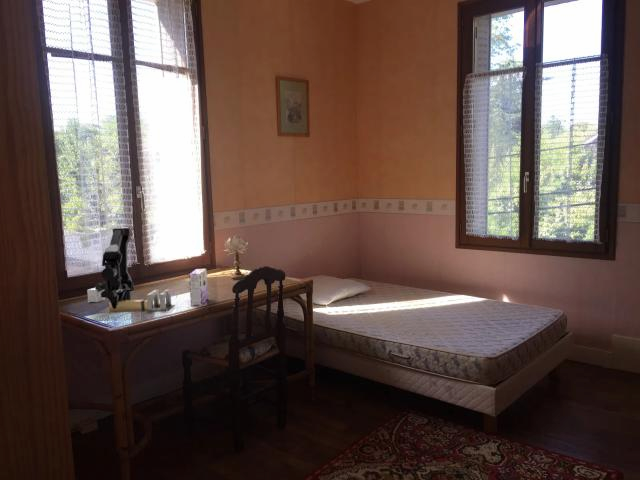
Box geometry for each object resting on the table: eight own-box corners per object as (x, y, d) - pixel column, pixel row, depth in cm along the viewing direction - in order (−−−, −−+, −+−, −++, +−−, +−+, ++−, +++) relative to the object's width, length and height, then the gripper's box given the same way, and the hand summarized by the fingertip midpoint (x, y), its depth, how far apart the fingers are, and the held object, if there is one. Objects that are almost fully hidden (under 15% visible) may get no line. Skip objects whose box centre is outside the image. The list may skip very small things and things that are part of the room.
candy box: (197, 299, 281) (195, 268, 279) (208, 299, 281) (206, 268, 279) (190, 306, 268) (188, 273, 266) (202, 305, 268) (200, 273, 265)
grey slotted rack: (108, 308, 268) (106, 290, 267) (175, 306, 267) (174, 289, 266) (97, 314, 256) (96, 296, 255) (168, 313, 255) (167, 294, 254)
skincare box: (97, 304, 278) (96, 290, 277) (87, 303, 280) (86, 289, 279) (105, 301, 284) (104, 287, 283) (96, 300, 286) (95, 287, 285)
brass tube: (112, 308, 264) (112, 300, 263) (153, 307, 263) (152, 299, 262) (109, 310, 260) (108, 302, 259) (150, 309, 259) (149, 301, 258)
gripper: (105, 272, 269) (108, 303, 271) (88, 280, 250) (91, 312, 252) (127, 272, 269) (129, 302, 271) (112, 279, 250) (114, 312, 252)
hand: (116, 307), depth 261 cm, fingers closed on brass tube, 4 cm apart
